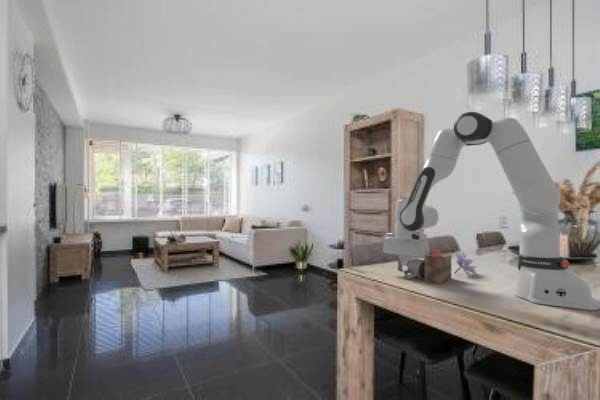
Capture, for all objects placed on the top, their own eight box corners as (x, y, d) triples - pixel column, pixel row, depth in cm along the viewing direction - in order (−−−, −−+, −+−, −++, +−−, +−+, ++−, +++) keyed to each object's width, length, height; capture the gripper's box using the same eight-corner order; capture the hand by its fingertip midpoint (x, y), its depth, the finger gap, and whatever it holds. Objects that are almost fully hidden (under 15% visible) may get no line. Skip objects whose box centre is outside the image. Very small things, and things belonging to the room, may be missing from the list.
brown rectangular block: (451, 278, 137) (451, 254, 137) (440, 284, 127) (439, 259, 127) (435, 276, 142) (435, 253, 142) (423, 282, 131) (423, 257, 131)
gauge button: (441, 264, 132) (441, 249, 132) (438, 265, 130) (438, 250, 130) (433, 263, 134) (432, 248, 134) (429, 264, 132) (429, 249, 132)
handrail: (439, 275, 143) (439, 263, 143) (438, 276, 142) (438, 264, 142) (398, 269, 155) (398, 258, 155) (397, 270, 154) (397, 259, 154)
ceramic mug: (419, 273, 145) (419, 256, 145) (432, 278, 137) (433, 260, 137) (399, 275, 141) (400, 258, 141) (412, 280, 134) (413, 262, 133)
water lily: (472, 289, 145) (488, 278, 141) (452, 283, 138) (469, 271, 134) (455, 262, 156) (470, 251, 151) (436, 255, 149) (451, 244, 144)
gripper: (380, 233, 148) (380, 263, 148) (425, 236, 135) (425, 269, 135) (386, 232, 153) (386, 261, 153) (430, 235, 139) (430, 267, 139)
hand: (405, 265), depth 144 cm, fingers closed
